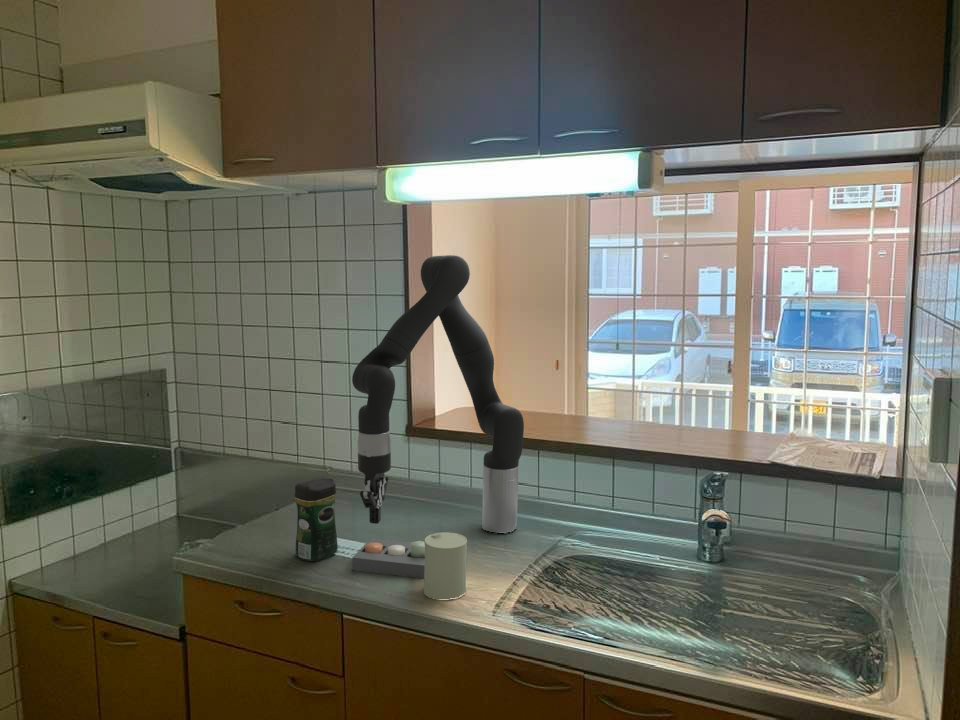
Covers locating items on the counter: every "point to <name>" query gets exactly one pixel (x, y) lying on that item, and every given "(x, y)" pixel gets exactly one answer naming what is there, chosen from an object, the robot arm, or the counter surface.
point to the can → (445, 565)
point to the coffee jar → (316, 519)
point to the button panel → (389, 561)
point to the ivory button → (396, 550)
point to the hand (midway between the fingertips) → (375, 522)
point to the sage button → (417, 549)
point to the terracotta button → (374, 548)
